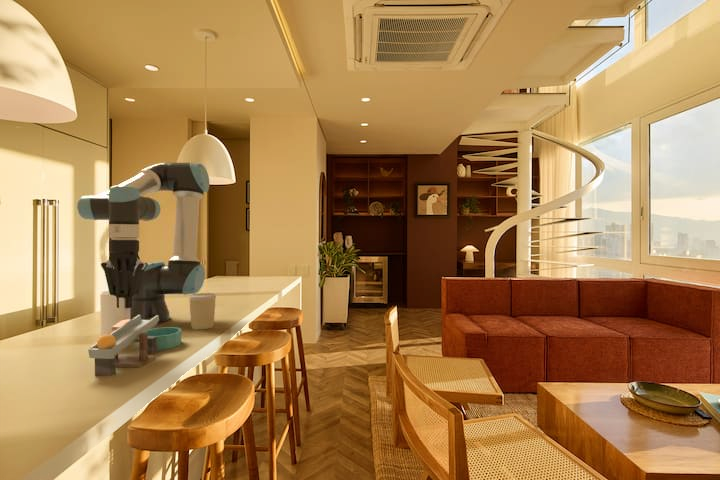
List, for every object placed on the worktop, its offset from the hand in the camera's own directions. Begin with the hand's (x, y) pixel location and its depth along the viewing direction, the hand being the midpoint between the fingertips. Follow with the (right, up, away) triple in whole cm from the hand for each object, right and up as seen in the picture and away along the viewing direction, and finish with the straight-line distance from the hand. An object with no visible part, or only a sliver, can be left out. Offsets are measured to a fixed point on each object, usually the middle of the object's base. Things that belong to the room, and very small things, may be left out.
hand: (124, 319), depth 110 cm
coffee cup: (+10, -10, +31) cm, 34 cm away
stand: (+5, -10, -7) cm, 14 cm away
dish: (+6, -10, +9) cm, 15 cm away
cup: (-11, -10, +13) cm, 20 cm away
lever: (+3, -5, -7) cm, 9 cm away
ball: (+5, -3, -15) cm, 16 cm away
